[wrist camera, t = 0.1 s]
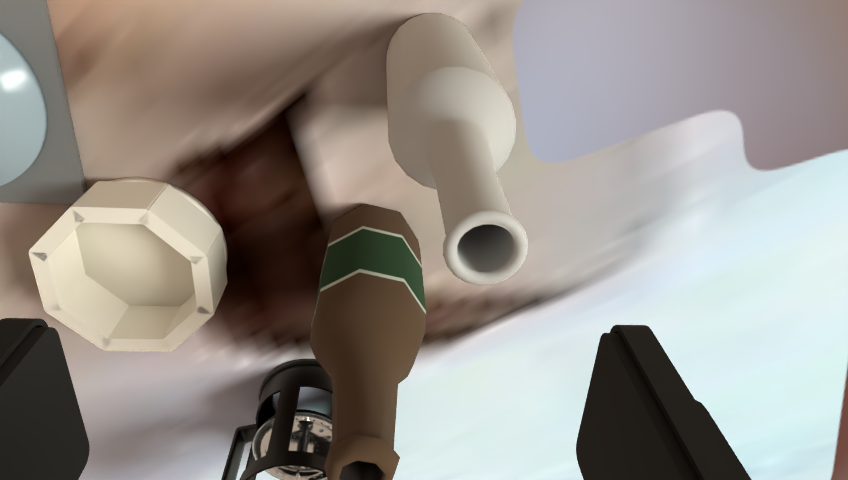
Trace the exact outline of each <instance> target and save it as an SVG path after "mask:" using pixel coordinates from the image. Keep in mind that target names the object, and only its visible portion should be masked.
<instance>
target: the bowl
mask: <svg viewBox="0 0 848 480" xmlns="http://www.w3.org/2000/svg"><path fill="white" fill-rule="evenodd" d="M28 253H29V257H30V260H31V264H32V268H33V271H34V275H35V278H36V282H37V286H38V289H39V293H40V297H41V300H42V304H43V307H44V311H46V313H48V314H49V315H51V316H52V317H54V318H55V319H57V320H58V321H60V322H61V323H63V324H64V325H66V326H67V327H69V328H70V329H72V330H73V331H75V332H76V333H78V334H79V335H81V336H82V337H84V338H85V339H87V340H88V341H90V342H91V343H93V344H94V345H96V346H97V347H99V348H100V349H102V350H105V351H150V352H171V351H173V350H174V349H175V348H177V347H178V346H179V345H180V344H181V343H182V342H183V341H185V340H186V339H187V338H188V337H189V336H190V335H191V334H193V333H194V332H195V331H196V330H197V329H198V328H199V327H201V326H202V325H203V324H204V323H205V322H206V321H207V320H209V319H210V318H211V317H212V316H213V315H214V313H215V311H216V308H217V306H218V304H219V301H220V299H221V297H222V294H223V292H224V290H225V287H226V285H227V272H226V267H227V261H228V250H227V244H226V240H225V237H224V234H223V231H222V228H221V227H220V225H219V223H218V222H217V220H216V219H215V217H214V216H213V215H212V213H211V212H210V211H209V210H208V209H207V208H206V207H205V206H204V205H203V204H202V203H201V202H200V201H199V200H198V199H196V198H195V197H193V196H192V195H191V194H189V193H187V192H186V191H184V190H182V189H181V188H178V187H176V186H174V185H172V184H169V183H166V182H163V181H160V180H155V179H150V178H142V177H126V178H120V179H115V180H111V181H98V182H96V183H95V184H94V185H93V186H92V187H91V188H90V189H89V190H88V191H87V192H86V193H84V194H83V195H82V196H81V197H80V198H79V199H78V200H77V201H76V202H75V203H74V204H73V205H72V206H71V207H70V208H69V209H68V210H67V211H66V212H65V213H64V214H63V215H62V216H61V217H60V218H59V219H58V220H57V221H56V222H55V224H54V225H53V226H52V227H51V228H50V229H49V230H48V231H47V232H46V233H45V234H44V235H43V236H42V237H41V238H40V239H39V240H38V241H37V243H36V244H35V245H34V246H33V247H32V248H31V249H30V250H29V252H28Z"/></svg>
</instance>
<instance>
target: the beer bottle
mask: <svg viewBox="0 0 848 480" xmlns="http://www.w3.org/2000/svg"><path fill="white" fill-rule="evenodd" d="M425 330H426V308H425V298H424V287H423V276H422V266H421V255H420V248H419V243H418V239H417V238H416V236H415V235H414V233H413V232H412V230H411V228H410V227H409V225H408V224H407V222H406V220H405V219H404V217H403V216H402V214H401V213H400V212H397V211H393V210H389V209H385V208H380V207H376V206H372V205H368V204H364V205H362V206H360V207H358V208H356V209H354V210H352V211H351V212H349V213H347V214H345V215H343V216H341V217H339V218H337V219H335V220H334V222H333V225H332V228H331V232H330V236H329V240H328V244H327V248H326V252H325V256H324V260H323V265H322V270H321V276H320V281H319V287H318V292H317V298H316V303H315V309H314V314H313V320H312V325H311V337H310V346H311V348H312V351H313V353H314V355H315V358H316V360H317V361H318V362H319V363H320V365H321V366H322V367H323V368H324V369H325V371H326V372H327V373H328V374H329V376H330V377H331V382H332V388H333V407H332V445H331V446H330V448H329V452H328V455H327V458H326V461H325V465H324V468H325V472H326V476H327V480H392V479H393V476H394V474H395V471H396V468H397V465H398V462H399V459H400V457H399V456H398V454H397V453H396V452H395V451H394V450H393V449H394V434H395V419H396V405H397V390H398V383H400V382H401V381H402V380H404V379H405V378H406V377H408V375H409V373H410V371H411V369H412V367H413V364H414V362H415V359H416V356H417V353H418V350H419V348H420V345H421V342H422V339H423V336H424V334H425Z"/></svg>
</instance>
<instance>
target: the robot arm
mask: <svg viewBox="0 0 848 480" xmlns="http://www.w3.org/2000/svg"><path fill="white" fill-rule="evenodd" d="M576 454H577V460H578V464H579V467H580V470H581V473H582V476H583V479H584V480H751V478H750V477H749V475H748V474H747V472H746V471H745V469H744V467H743V466H742V464H741V463H740V461H739V459H738V458H737V456H736V455H735V453H734V452H733V450H732V448H731V447H730V445H729V444H728V442H727V441H726V439H725V437H724V436H723V434H722V433H721V431H720V430H719V428H718V426H717V425H716V423H715V422H714V420H713V419H712V417H711V415H710V414H709V412H708V411H707V409H706V408H705V407H704V406H703V405H702V403H700V402H698V401H696V400H695V399H694V398H693V396H692V394H691V393H690V391H689V390H688V388H687V386H686V385H685V383H684V382H683V380H682V378H681V377H680V375H679V374H678V372H677V370H676V369H675V367H674V366H673V364H672V362H671V361H670V359H669V358H668V356H667V354H666V353H665V351H664V350H663V348H662V346H661V345H660V343H659V342H658V340H657V338H656V337H655V335H654V334H653V332H652V330H651V329H650V328H649V327H648V326H646V325H615V326H613V327H612V329H611V331H610V333H604V334H602V336H601V338H600V342H599V346H598V351H597V355H596V359H595V364H594V368H593V373H592V377H591V381H590V386H589V390H588V394H587V399H586V403H585V408H584V412H583V416H582V421H581V425H580V430H579V434H578V438H577V444H576ZM88 456H89V441H88V438H87V434H86V431H85V427H84V423H83V420H82V416H81V413H80V409H79V405H78V402H77V398H76V395H75V391H74V388H73V384H72V380H71V377H70V373H69V370H68V366H67V363H66V359H65V355H64V352H63V348H62V345H61V341H60V338H59V334H58V332H57V330H56V329H55V328H52V327H48V325H47V323H46V322H45V321H44V320H42V319H28V318H5V319H1V320H0V480H78V479H79V477H80V475H81V473H82V471H83V469H84V468H85V465H86V463H87V460H88Z"/></svg>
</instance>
